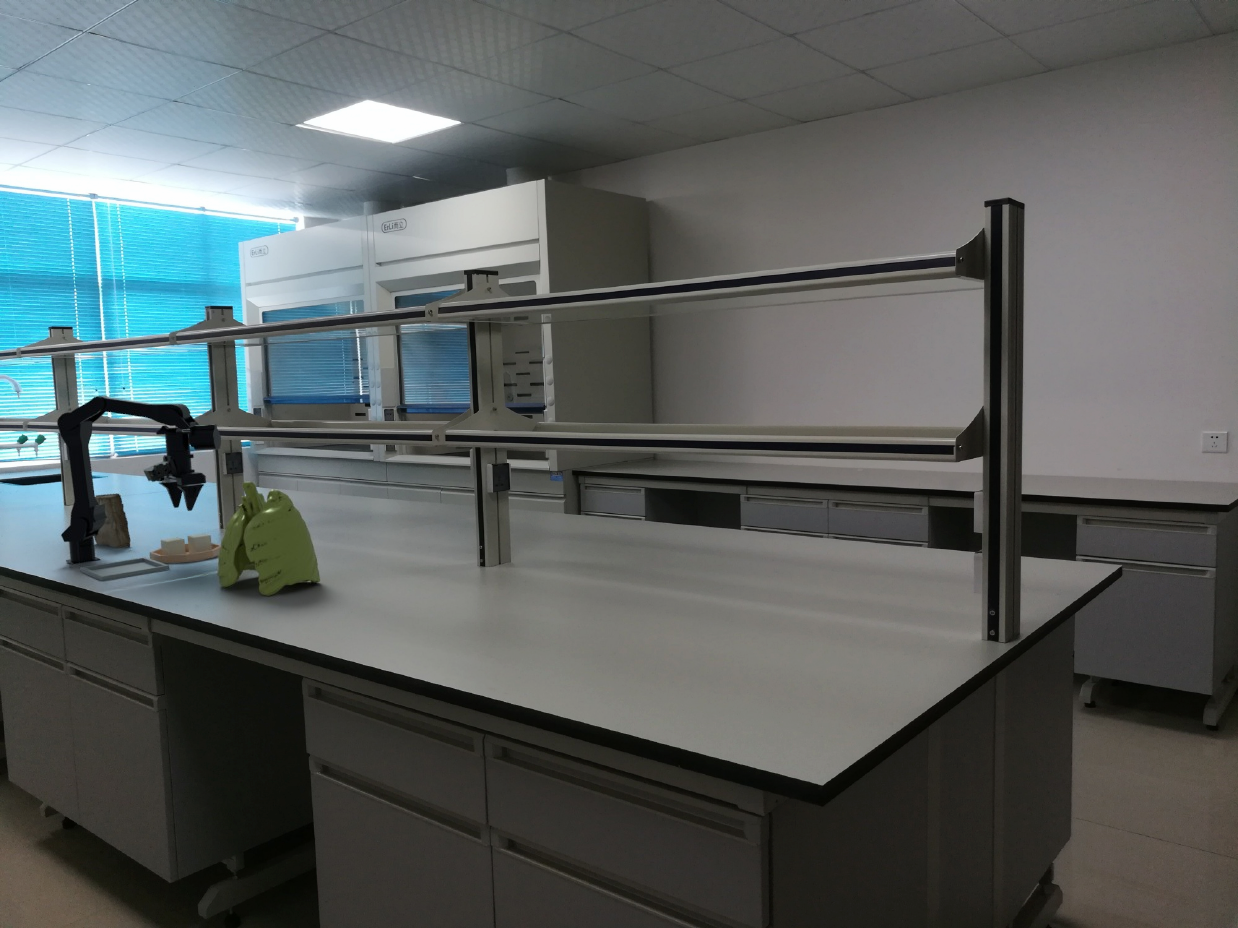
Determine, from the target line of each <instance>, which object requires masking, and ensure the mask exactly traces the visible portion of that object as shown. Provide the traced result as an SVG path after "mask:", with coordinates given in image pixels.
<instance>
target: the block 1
mask: <svg viewBox="0 0 1238 928" xmlns="http://www.w3.org/2000/svg"><path fill="white" fill-rule="evenodd" d="M185 544H186V540H185V539H184V538H182V537H179V536H178V537H171V538H165V539H163V538H162V539H160V548H161V550H162V555H182V554H186V552H185Z"/></svg>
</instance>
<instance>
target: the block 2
mask: <svg viewBox="0 0 1238 928" xmlns="http://www.w3.org/2000/svg"><path fill="white" fill-rule="evenodd" d="M186 537H187V544H188V550H189V554H191V553H198V552H204V551H210V550H212V545H211V543H212V535H211V534H209V533H208V534H207V533H199V534H192V535H187V536H186Z"/></svg>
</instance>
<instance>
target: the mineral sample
mask: <svg viewBox="0 0 1238 928" xmlns="http://www.w3.org/2000/svg"><path fill="white" fill-rule="evenodd" d="M95 499H96V500H97V502H98V503H99V505H100V504H105V514H106V516H107V518H106V519H105V523H104V525H103V526H102V527H101V529H99V533H98V535H97V536H94V542H95V543H96V544H97V545H100V546H109V547H112V548H114V549H120V548H121V549H122V548H128V547H131V535H130V531H129V522H128V519H127V518H128V517H127V514H126V511H125V510H124V503H123V500H122V497H121V494H120V493H110V494H109V493H107V494H96V495H95Z"/></svg>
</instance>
